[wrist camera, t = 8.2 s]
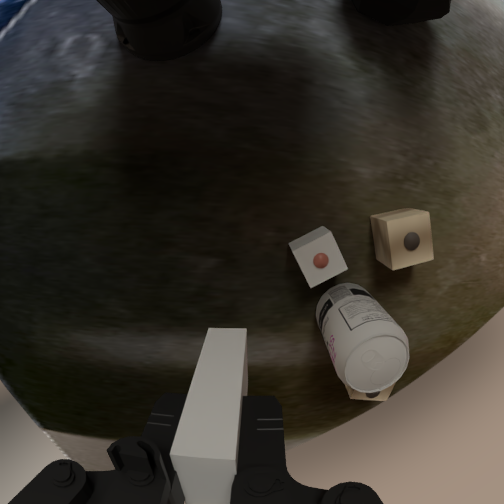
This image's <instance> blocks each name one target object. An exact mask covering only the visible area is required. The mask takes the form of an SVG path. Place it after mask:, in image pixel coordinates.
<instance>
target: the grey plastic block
mask: <svg viewBox="0 0 504 504" xmlns="http://www.w3.org/2000/svg"><path fill="white" fill-rule="evenodd" d="M288 244H289V246H290V248H291V250H292V252H293V254H294V256H295V258H296V260H297V262H298V264H299V266H300V268H301V270H302V272H303V274H304V276H305V278H306V280H307V282H308V284H309V286H310V288H312V287H314V286H316V285H318V284H320V283H322V282H324V281H326V280H328V279H330V278H332V277H334V276H336V275H338V274H339V273H341V272H343V271H345V270H347V269H348V268H347V266H346V263H345V261H344V259H343V257H342V255H341V252H340V250H339V248H338V246H337V244H336V241H335V239H334V237H333V235H332V233H331V231H329V230H328V229H327V228H325V227H324V226H321V227H319V228H317V229H315V230H313V231H312V232H310V233H308V234H306V235H304V236H302V237H300V238H298V239H296V240H294V241H292V242H290V243H288Z"/></svg>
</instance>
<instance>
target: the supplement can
mask: <svg viewBox="0 0 504 504" xmlns="http://www.w3.org/2000/svg"><path fill="white" fill-rule="evenodd" d="M316 319H317V323H318V326H319V328H320V331H321V334H322V336H323V339H324V341H325V344H326V346H327V349H328V352H329V354H330V357H331V359H332V362H333V365H334V367H335V370H336V373H337V375H338V377H339V378H340V379H341V380H342V382H343V383H344V384H346V385H348V386H350V387H351V388H353V389H355V390H357V391H359V392H363V393H373V392H378V391H382V390H384V389H386V388H388V387H389V386H391V385H393V384H394V383H395V382H396V381H397V380H398V379H399V378H400V377H401V376H402V374H403V373H404V371H405V370H406V368H407V365H408V361H409V344H408V338H407V336H406V335H405V333H404V331H403V330H402V328H401V327H400V326H399V325H398V324H397V323H396V322H395V321H394V320H393V319H392V317H391V316H390V315H389V314H388V313H387V312H386V311H385V310H384V309H383V308H382V307H381V305H380V304H379V303H378V302H377V301H376V300H375V299H374V298H373V297H372V296H371V295H370V294H369V293H368V292H367V290H365V289H364V288H362V287H361V286H360V285H358V284H353V283H343V284H338V285H336V286H334V287H332V288H330V289H328V290H327V291H326V292H325V293H324V294H323V295H322V296H321V298H320V300H319V302H318V304H317V308H316Z"/></svg>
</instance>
